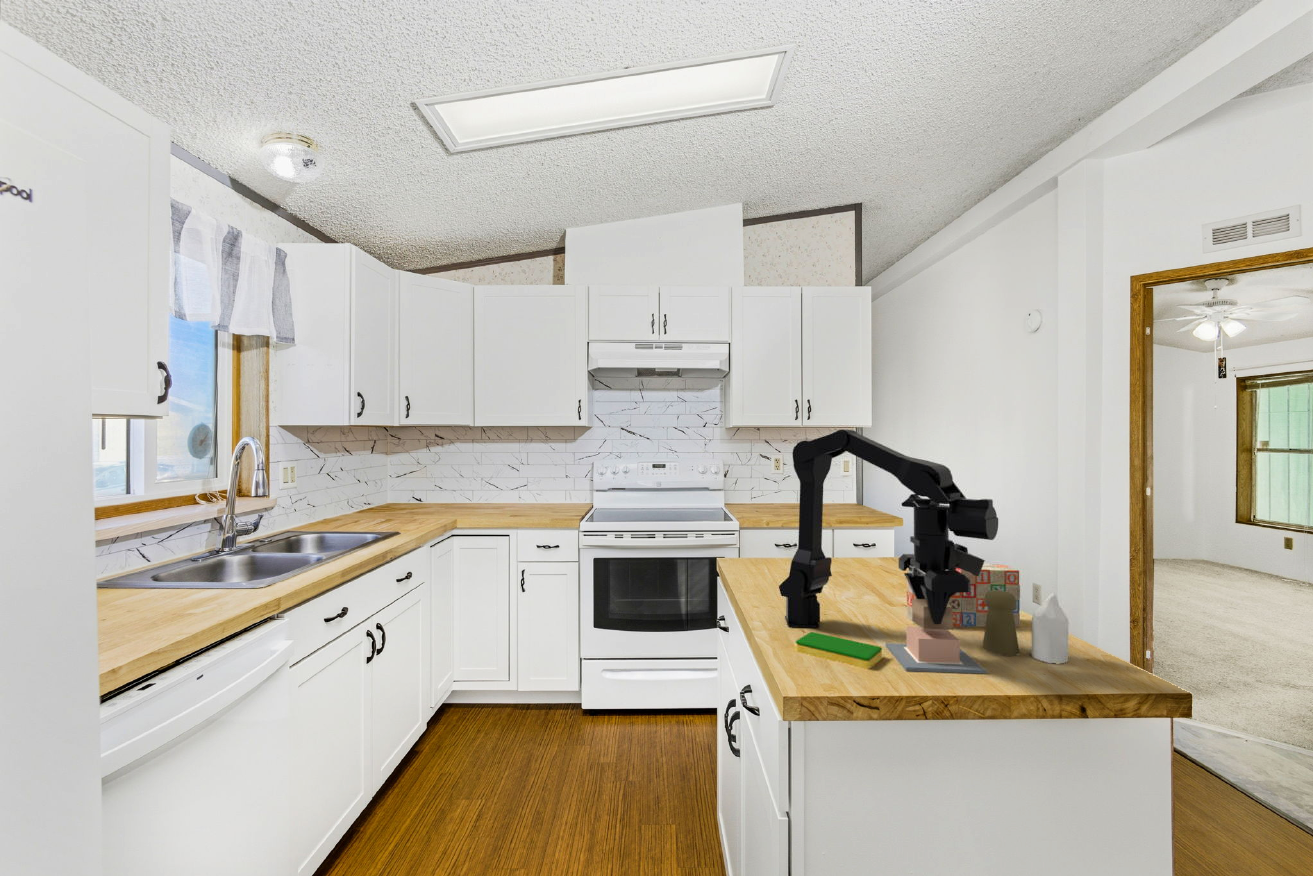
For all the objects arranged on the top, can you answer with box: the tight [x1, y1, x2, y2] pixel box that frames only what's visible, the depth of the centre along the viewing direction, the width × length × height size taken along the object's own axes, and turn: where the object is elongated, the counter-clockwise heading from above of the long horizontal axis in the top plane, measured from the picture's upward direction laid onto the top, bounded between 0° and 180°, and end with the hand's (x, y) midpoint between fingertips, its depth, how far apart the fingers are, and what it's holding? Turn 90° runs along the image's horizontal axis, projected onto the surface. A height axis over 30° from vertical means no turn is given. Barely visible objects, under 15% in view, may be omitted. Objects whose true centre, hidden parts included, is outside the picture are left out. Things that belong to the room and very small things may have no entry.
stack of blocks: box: [906, 563, 1021, 628], centre depth 125 cm, size 21×6×12 cm, turn 87°
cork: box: [982, 590, 1020, 657], centre depth 108 cm, size 6×6×11 cm
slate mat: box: [885, 642, 987, 675], centre depth 104 cm, size 13×12×1 cm
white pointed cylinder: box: [1031, 592, 1070, 665], centre depth 104 cm, size 6×12×6 cm
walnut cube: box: [911, 599, 954, 631], centre depth 104 cm, size 5×5×4 cm
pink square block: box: [905, 626, 960, 663], centre depth 104 cm, size 7×7×4 cm
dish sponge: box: [795, 631, 883, 670], centre depth 106 cm, size 7×14×2 cm, turn 50°
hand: (931, 619), depth 104 cm, fingers closed on walnut cube, 5 cm apart
